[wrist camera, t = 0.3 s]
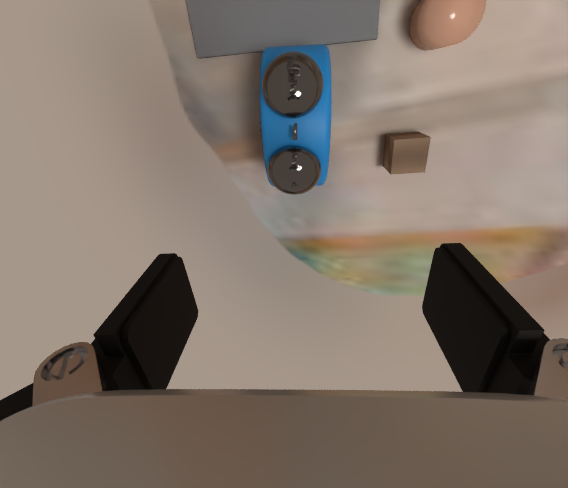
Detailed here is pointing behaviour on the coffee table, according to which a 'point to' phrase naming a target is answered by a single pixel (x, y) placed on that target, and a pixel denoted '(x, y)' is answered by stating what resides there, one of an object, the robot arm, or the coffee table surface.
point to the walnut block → (406, 152)
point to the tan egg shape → (444, 22)
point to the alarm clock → (296, 115)
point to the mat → (278, 24)
